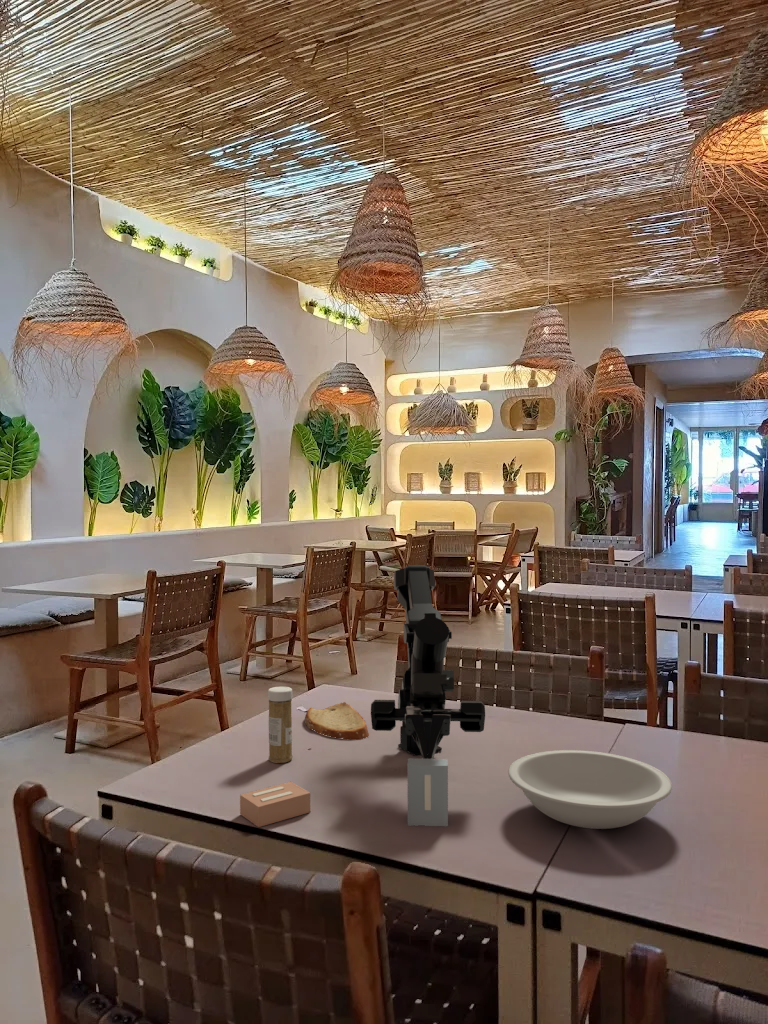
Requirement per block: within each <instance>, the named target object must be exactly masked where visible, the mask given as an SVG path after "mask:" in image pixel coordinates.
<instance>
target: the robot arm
mask: <svg viewBox="0 0 768 1024" xmlns="http://www.w3.org/2000/svg"><path fill="white" fill-rule="evenodd" d="M435 582H436V581H435V570H434V569H432V568H430V566H427V565H426V564H423V565H422V564H414V565H413V564H411V565H410V564H408V565H406V566H404V568H399V569H397V570H395V571H394V574H393V590H394V591H396V594H397V595H396V596H397V601H398V603H399V604H400V605H401V606H402V608H403V609H404V612H405V623H403V643H404V644H406V645H407V646H406V647H407V650H406V651H407V663H408V665H407V666H408V669H407V670H405V672H404V675H403V677H402V683H401V688H400V689H398V699H397V707H396V699H374V700H373V701H372V702H371V703H370V719H371V729H372V730H374V731H379V732H380V731H384V732H385V731H388V732H391V731H392V730H394V729H395V728H396V726H397V725H396V723H397V722H401V726H400V727H399V728H400V729H399V730H400V731H399V732H400V733H399V735H400V740H399V741H400V742H399V744H397V747H398V748H399V749H401V750H403V751H405V752H407V753H409V754H411V755H412V756H414V757H415V756H421V758H422V759H434V756H435V754H436V752H441V751H443V748H442V747H441V746H439V745H440V743H441V741H442V739H443V738H444V737H445V736H446V737H448V736H449V735H450V733H451V732H450V731H451V722H459V727H460V729H461V730H462V731H463V732H464V733H481V732H483V731H485V730H484V729H485V722H486V705H485V704H484V702H482V700H460V706H459V708H445V707H446V701H447V700H446V692H454V690H455V672H454V669H452V670H451V669H447V670H445V657H446V655H447V648H448V643H449V642H450V639H451V640H452V639H453V638H452V637H453V635H452V631H451V630H450V629H449V627H448V625H447V624H446V622H444V621H443V618H442V614H441V612H440V611H439V610H438V609H436V608H434V605H433V599H432V595H431V593H432V591H433V590H434V589H435V587H436V585H435Z"/></svg>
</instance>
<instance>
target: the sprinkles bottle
mask: <svg viewBox="0 0 768 1024" xmlns="http://www.w3.org/2000/svg"><path fill="white" fill-rule="evenodd" d="M267 699H268V744H269V745H268V746H269V747H268V748H269V753H268V754H269V755H268V760H269V762H271V763H275V764H286V763H287V762H290V761H292V760H293V747H292V745H293V744H292V743H293V723H292V722H293V721H292V720H293V718H292V701H293V688H291V686H290V687H289V686H273V687H271V688H270V687H269V688H268V690H267Z"/></svg>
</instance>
